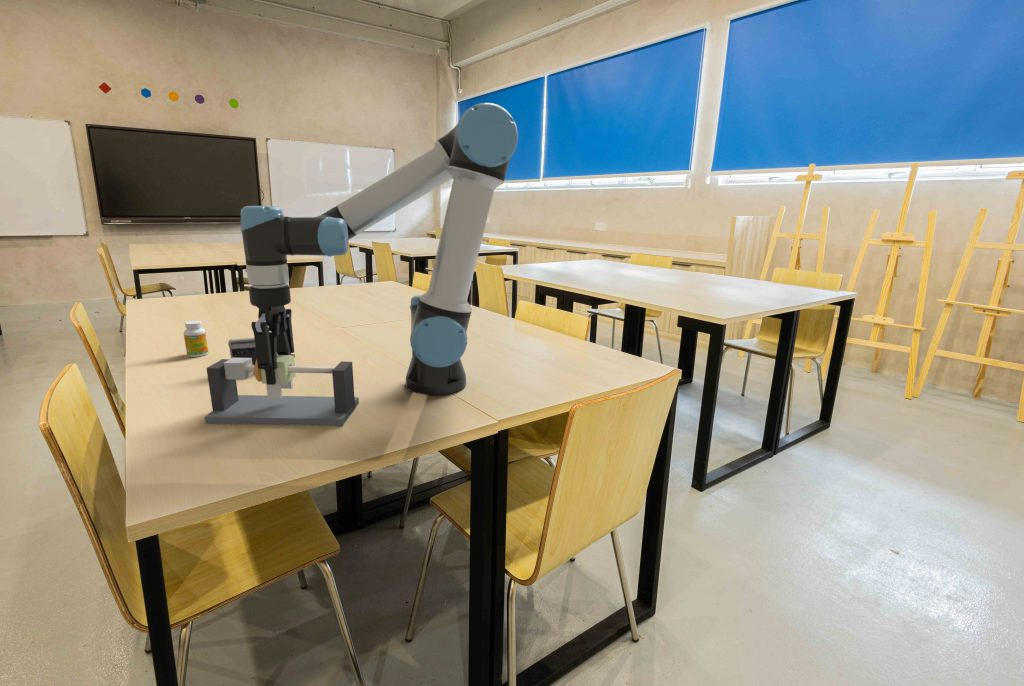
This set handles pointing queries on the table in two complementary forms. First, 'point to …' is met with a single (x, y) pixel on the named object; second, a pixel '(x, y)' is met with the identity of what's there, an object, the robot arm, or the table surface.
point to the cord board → (278, 410)
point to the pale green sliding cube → (282, 368)
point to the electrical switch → (243, 348)
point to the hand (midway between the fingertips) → (280, 392)
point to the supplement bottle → (195, 339)
